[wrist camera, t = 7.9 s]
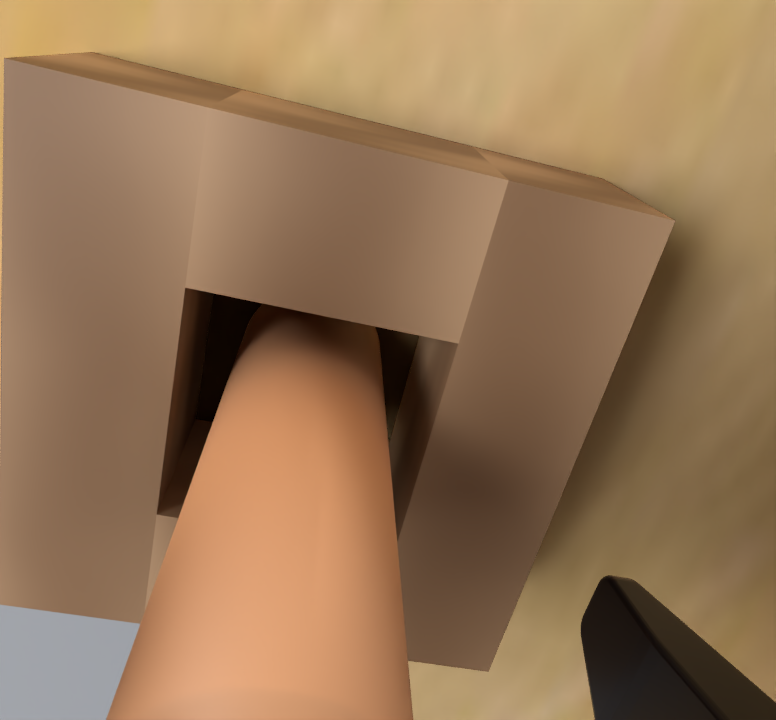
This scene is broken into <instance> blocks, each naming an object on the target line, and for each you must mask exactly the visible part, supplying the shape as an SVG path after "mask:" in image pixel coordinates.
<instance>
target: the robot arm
mask: <svg viewBox="0 0 776 720" xmlns="http://www.w3.org/2000/svg"><path fill="white" fill-rule="evenodd" d="M581 638H582V644H583V651H584V657H585V663H586V669H587V675H588V681H589V687H590V693H591V699H592V706H593V712H594V718H595V720H776V702H774V701H773V700H772V699H771V698H770V697H769V696H767V695H766V694H765V693H764V692H763V691H762V690H761V689H759V688H758V687H757V686H756V685H755V684H754V683H752V682H751V681H750V680H749V679H748V678H747V677H746V676H744V675H743V674H742V673H741V672H740V671H739V670H737V669H736V668H735V667H734V666H733V665H732V664H731V663H729V662H728V661H727V660H726V659H725V658H724V657H722V656H721V655H720V654H719V653H718V652H717V651H716V650H714V649H713V648H712V647H711V646H710V645H709V644H708V643H706V642H705V641H704V640H703V639H702V638H701V637H699V636H698V635H697V634H696V633H695V632H694V631H693V630H691V629H690V628H689V627H688V626H687V625H686V624H684V623H683V622H682V621H681V620H680V619H679V618H678V617H676V616H675V615H674V614H673V613H672V612H671V611H669V610H668V609H667V608H666V607H665V606H664V605H663V604H661V603H660V602H659V601H658V600H657V599H656V598H654V597H653V596H652V595H651V594H650V593H649V592H648V591H646V590H645V589H644V588H643V587H642V586H641V585H640V584H638V583H637V582H636V581H634V580H632V579H629V578H623V577H617V576H610V575H609V576H605V577H603V578H602V579H601V580H600V582H599V584H598V586H597V588H596V590H595V592H594V594H593V596H592V598H591V601H590V603H589V605H588V607H587V609H586V611H585V613H584V615H583V618H582V622H581Z"/></svg>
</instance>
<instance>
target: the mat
mask: <svg viewBox="0 0 776 720" xmlns="http://www.w3.org/2000/svg"><path fill="white" fill-rule="evenodd" d="M139 626H140V624H137V623H130V622H123V621H116V620H108V619H101V618H94V617H86V616H79V615H72V614H65V613H57V612H50V611H43V610H35V609H28V608H21V607H14V606H6V605H0V720H106V718H107V716H108V713H109V710H110V707H111V704H112V702H113V699H114V696H115V693H116V690H117V688H118V685H119V682H120V679H121V677H122V674H123V671H124V668H125V665H126V663H127V660H128V657H129V654H130V651H131V649H132V646H133V643H134V640H135V638H136V635H137V632H138V629H139Z"/></svg>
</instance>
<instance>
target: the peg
mask: <svg viewBox="0 0 776 720" xmlns="http://www.w3.org/2000/svg"><path fill="white" fill-rule="evenodd" d="M106 720H413V713H412V701H411V690H410V679H409V668H408V657H407V646H406V634H405V623H404V612H403V601H402V590H401V578H400V567H399V556H398V545H397V534H396V523H395V511H394V500H393V489H392V478H391V467H390V455H389V444H388V433H387V422H386V411H385V400H384V388H383V377H382V366H381V355H380V344H379V338H378V334H377V331H376V328H375V326H370V325H365V324H360V323H356V322H351V321H346V320H341V319H336V318H331V317H326V316H321V315H317V314H312V313H307V312H302V311H297V310H292V309H287V308H282V307H278V306H273V305H268V304H262V305H261V306H260V307H259V308H258V310H257V311H256V312H255V313H254V315H253V316H252V318H251V320H250V321H249V324H248V326H247V329H246V331H245V334H244V337H243V340H242V342H241V345H240V348H239V351H238V353H237V356H236V359H235V362H234V365H233V367H232V370H231V373H230V376H229V379H228V381H227V384H226V387H225V390H224V392H223V395H222V398H221V401H220V404H219V406H218V409H217V412H216V415H215V418H214V420H213V423H212V426H211V429H210V431H209V434H208V437H207V440H206V443H205V445H204V448H203V451H202V454H201V457H200V459H199V462H198V465H197V468H196V470H195V473H194V476H193V479H192V482H191V484H190V487H189V490H188V493H187V496H186V498H185V501H184V504H183V507H182V509H181V512H180V515H179V518H178V521H177V523H176V526H175V529H174V532H173V535H172V537H171V540H170V543H169V546H168V548H167V551H166V554H165V557H164V560H163V562H162V565H161V568H160V571H159V573H158V576H157V579H156V582H155V585H154V587H153V590H152V593H151V596H150V599H149V601H148V604H147V607H146V610H145V612H144V615H143V618H142V621H141V624H140V626H139V629H138V632H137V635H136V638H135V640H134V643H133V646H132V649H131V651H130V654H129V657H128V660H127V663H126V665H125V668H124V671H123V674H122V677H121V679H120V682H119V685H118V688H117V690H116V693H115V696H114V699H113V702H112V704H111V707H110V710H109V713H108V716H107V718H106Z"/></svg>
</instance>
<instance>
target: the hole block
mask: <svg viewBox="0 0 776 720" xmlns="http://www.w3.org/2000/svg"><path fill="white" fill-rule="evenodd" d="M674 223H675V220H673V219H672V218H670V217H668V216H666V215H665V214H663V213H661V212H659V211H658V210H656V209H654V208H652V207H651V206H649V205H647V204H646V203H644V202H642V201H640V200H639V199H637V198H635V197H633V196H632V195H630V194H628V193H626V192H625V191H623V190H621V189H620V188H618V187H616V186H614V185H613V184H611V183H609V182H607V181H606V180H604V179H602V178H598V177H594V176H590V175H586V174H582V173H578V172H573V171H569V170H565V169H561V168H557V167H553V166H549V165H545V164H541V163H537V162H533V161H529V160H525V159H521V158H517V157H513V156H509V155H505V154H501V153H497V152H493V151H489V150H485V149H481V148H477V147H472V146H468V145H464V144H460V143H456V142H452V141H448V140H444V139H440V138H436V137H432V136H428V135H424V134H420V133H416V132H412V131H408V130H404V129H400V128H396V127H392V126H388V125H384V124H380V123H375V122H371V121H367V120H363V119H359V118H355V117H351V116H347V115H343V114H339V113H335V112H331V111H327V110H323V109H319V108H315V107H311V106H307V105H303V104H299V103H295V102H291V101H287V100H283V99H279V98H274V97H270V96H266V95H262V94H258V93H254V92H250V91H246V90H242V89H238V88H234V87H230V86H226V85H222V84H218V83H214V82H210V81H206V80H202V79H198V78H194V77H190V76H186V75H182V74H178V73H173V72H169V71H165V70H161V69H157V68H153V67H149V66H145V65H141V64H137V63H133V62H129V61H125V60H121V59H117V58H113V57H109V56H105V55H101V54H97V53H93V52H88V53H73V54H58V55H43V56H29V57H14V58H4V120H3V212H2V305H1V398H0V605H6V606H14V607H21V608H28V609H35V610H43V611H50V612H57V613H65V614H72V615H79V616H86V617H94V618H101V619H108V620H116V621H123V622H130V623H137V624H141V621H142V618H143V615H144V612H145V610H146V607H147V604H148V601H149V599H150V596H151V593H152V590H153V587H154V585H155V582H156V579H157V576H158V573H159V571H160V568H161V565H162V562H163V560H164V557H165V554H166V551H167V548H168V546H169V543H170V540H171V537H172V535H173V532H174V529H175V526H176V523H177V521H178V518H179V515H180V512H181V509H182V507H183V504H184V501H185V498H186V496H187V493H188V490H189V487H190V484H191V482H192V479H193V476H194V473H195V470H196V468H197V465H198V462H199V459H200V457H201V454H202V451H203V448H204V445H205V443H206V440H207V437H208V434H209V431H210V429H211V426H212V423H213V422H208V421H203V420H197V419H196V413H197V406H198V400H199V393H200V386H201V379H202V372H203V365H204V358H205V351H206V344H207V337H208V330H209V323H210V316H211V309H212V302H213V295H214V294H219V295H224V296H229V297H234V298H239V299H244V300H248V301H253V302H258V303H263V304H268V305H273V306H278V307H282V308H287V309H292V310H297V311H302V312H307V313H312V314H317V315H321V316H326V317H331V318H336V319H341V320H346V321H351V322H356V323H360V324H365V325H370V326H375V327H380V328H385V329H390V330H395V331H399V332H404V333H409V334H414V335H419V339H418V343H417V346H416V350H415V353H414V357H413V360H412V364H411V368H410V371H409V375H408V378H407V382H406V385H405V389H404V392H403V396H402V400H401V403H400V407H399V410H398V414H397V417H396V421H395V425H394V428H393V432H392V435H391V439H390V442H389V455H390V467H391V478H392V489H393V500H394V511H395V523H396V534H397V545H398V556H399V567H400V578H401V590H402V601H403V612H404V623H405V634H406V646H407V657H408V661H414V662H422V663H429V664H436V665H443V666H451V667H458V668H465V669H473V670H480V671H487V672H488V671H489V669H490V667H491V664H492V662H493V659H494V657H495V654H496V652H497V650H498V647H499V645H500V642H501V640H502V638H503V635H504V633H505V630H506V628H507V626H508V623H509V621H510V618H511V616H512V613H513V611H514V609H515V606H516V604H517V601H518V599H519V597H520V594H521V592H522V589H523V587H524V585H525V582H526V580H527V577H528V575H529V573H530V570H531V568H532V565H533V563H534V560H535V558H536V556H537V553H538V551H539V548H540V546H541V544H542V541H543V539H544V536H545V534H546V532H547V529H548V527H549V524H550V522H551V519H552V517H553V515H554V512H555V510H556V507H557V505H558V503H559V500H560V498H561V495H562V493H563V491H564V488H565V486H566V483H567V481H568V479H569V476H570V474H571V471H572V469H573V466H574V464H575V462H576V459H577V457H578V454H579V452H580V450H581V447H582V445H583V442H584V440H585V438H586V435H587V433H588V430H589V428H590V426H591V423H592V421H593V418H594V416H595V413H596V411H597V409H598V406H599V404H600V401H601V399H602V397H603V394H604V392H605V389H606V387H607V385H608V382H609V380H610V377H611V375H612V372H613V370H614V368H615V365H616V363H617V360H618V358H619V356H620V353H621V351H622V348H623V346H624V344H625V341H626V339H627V336H628V334H629V332H630V329H631V327H632V324H633V322H634V319H635V317H636V315H637V312H638V310H639V307H640V305H641V303H642V300H643V298H644V295H645V293H646V291H647V288H648V286H649V283H650V281H651V279H652V276H653V274H654V271H655V269H656V266H657V264H658V262H659V259H660V257H661V254H662V252H663V250H664V247H665V245H666V242H667V240H668V238H669V235H670V233H671V230H672V228H673V225H674Z"/></svg>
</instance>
